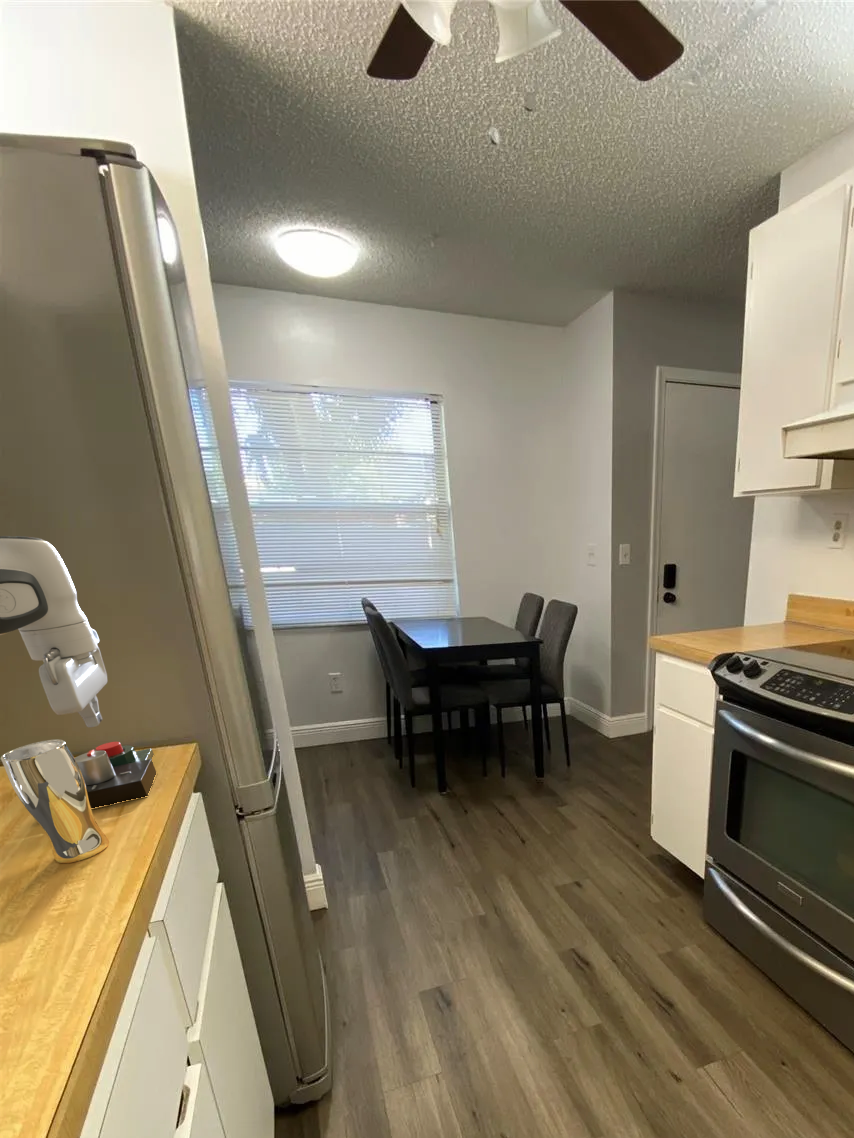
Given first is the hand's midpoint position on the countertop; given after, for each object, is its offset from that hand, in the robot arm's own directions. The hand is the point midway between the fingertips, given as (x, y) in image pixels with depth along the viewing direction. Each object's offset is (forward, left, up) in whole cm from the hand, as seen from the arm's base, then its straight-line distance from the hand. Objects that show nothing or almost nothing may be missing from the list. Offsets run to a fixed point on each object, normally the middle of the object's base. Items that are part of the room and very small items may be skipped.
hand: (95, 724), depth 107 cm
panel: (0, -10, -9) cm, 14 cm away
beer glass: (+1, -30, -10) cm, 32 cm away
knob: (0, -10, -6) cm, 12 cm away
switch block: (0, 0, -9) cm, 9 cm away
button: (0, 0, -6) cm, 6 cm away
